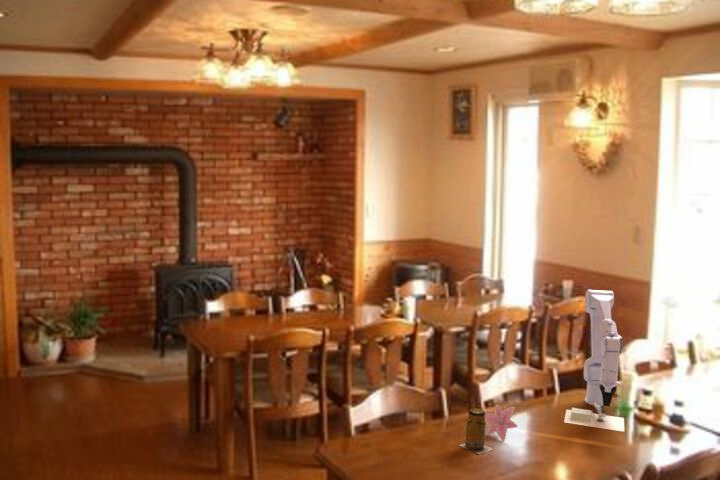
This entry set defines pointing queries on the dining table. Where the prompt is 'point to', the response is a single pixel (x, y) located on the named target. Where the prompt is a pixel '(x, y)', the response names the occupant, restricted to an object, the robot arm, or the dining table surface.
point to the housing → (598, 422)
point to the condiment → (476, 432)
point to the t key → (600, 410)
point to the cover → (581, 414)
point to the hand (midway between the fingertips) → (606, 405)
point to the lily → (500, 421)
